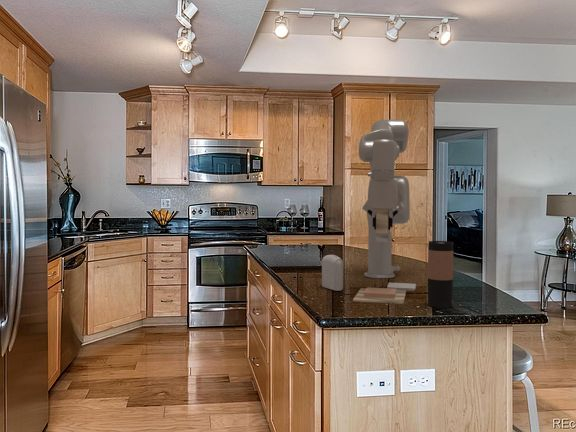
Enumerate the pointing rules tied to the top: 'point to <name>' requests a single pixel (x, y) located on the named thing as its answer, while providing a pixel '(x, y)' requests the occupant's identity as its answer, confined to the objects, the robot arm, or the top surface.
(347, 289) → the top surface
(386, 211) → the wooden block
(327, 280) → the photo printer
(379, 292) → the tile
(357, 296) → the oak board
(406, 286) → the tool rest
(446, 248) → the travel mug
